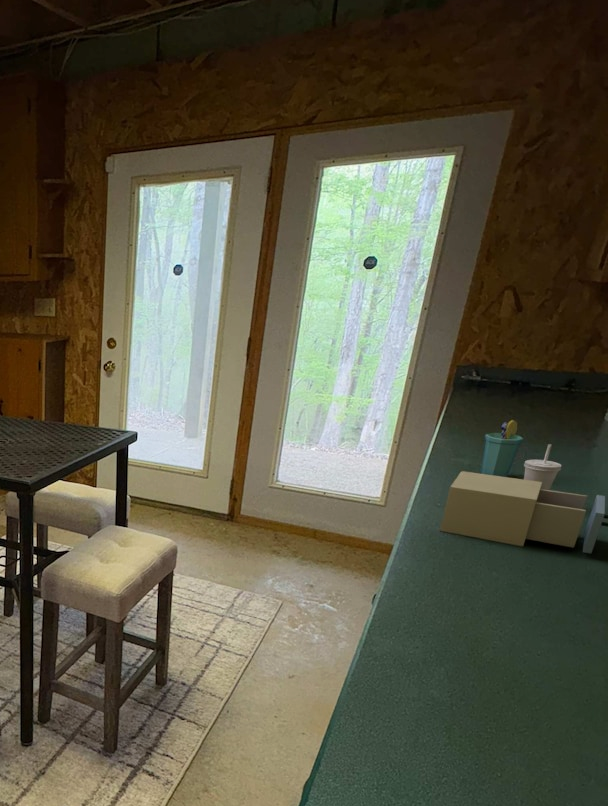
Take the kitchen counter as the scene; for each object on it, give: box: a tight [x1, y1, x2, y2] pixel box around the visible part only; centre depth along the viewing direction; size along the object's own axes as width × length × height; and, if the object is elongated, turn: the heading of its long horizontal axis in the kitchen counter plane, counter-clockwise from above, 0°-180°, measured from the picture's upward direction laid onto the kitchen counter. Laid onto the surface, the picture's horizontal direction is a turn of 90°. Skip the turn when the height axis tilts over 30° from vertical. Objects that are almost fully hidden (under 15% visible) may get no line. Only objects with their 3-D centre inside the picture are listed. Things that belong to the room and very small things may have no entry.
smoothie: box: [523, 443, 563, 490], centre depth 138 cm, size 6×6×14 cm
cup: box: [480, 419, 524, 477], centre depth 157 cm, size 14×8×15 cm, turn 136°
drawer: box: [525, 489, 608, 554], centre depth 119 cm, size 17×12×8 cm
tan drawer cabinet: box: [439, 470, 542, 547], centre depth 127 cm, size 14×14×10 cm
